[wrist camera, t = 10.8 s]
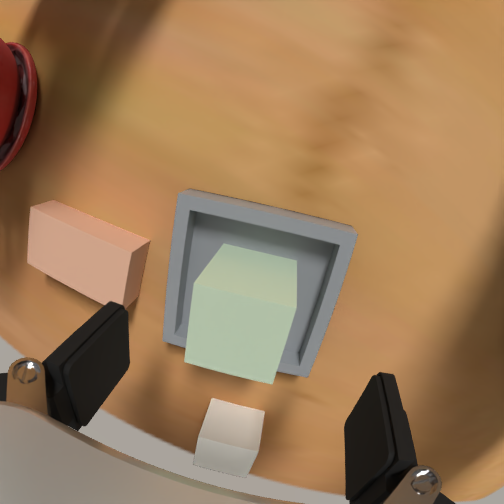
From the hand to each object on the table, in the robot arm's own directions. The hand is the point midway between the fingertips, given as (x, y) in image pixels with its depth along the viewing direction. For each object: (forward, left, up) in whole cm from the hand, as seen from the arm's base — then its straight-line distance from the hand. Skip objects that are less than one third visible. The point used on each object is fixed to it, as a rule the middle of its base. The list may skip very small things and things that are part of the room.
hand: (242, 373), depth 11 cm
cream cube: (0, +14, -10) cm, 17 cm away
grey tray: (+1, +1, -10) cm, 10 cm away
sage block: (+1, +1, -9) cm, 9 cm away
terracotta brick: (+13, +1, -10) cm, 16 cm away
